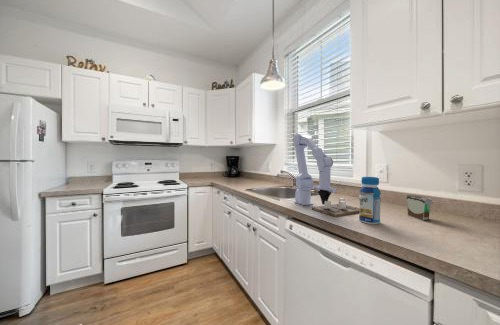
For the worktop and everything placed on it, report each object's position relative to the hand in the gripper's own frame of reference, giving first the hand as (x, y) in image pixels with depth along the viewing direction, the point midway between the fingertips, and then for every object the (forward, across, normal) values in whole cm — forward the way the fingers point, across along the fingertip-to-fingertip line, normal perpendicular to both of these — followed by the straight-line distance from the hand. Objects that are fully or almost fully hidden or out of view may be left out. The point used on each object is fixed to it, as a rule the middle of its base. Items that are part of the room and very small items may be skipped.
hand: (324, 204), depth 111 cm
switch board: (+3, +3, +6) cm, 8 cm away
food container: (+4, +30, +32) cm, 44 cm away
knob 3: (+2, +6, +6) cm, 9 cm away
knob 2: (+1, 0, +13) cm, 13 cm away
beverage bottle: (+4, +23, +4) cm, 24 cm away
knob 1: (+1, +2, 0) cm, 3 cm away
